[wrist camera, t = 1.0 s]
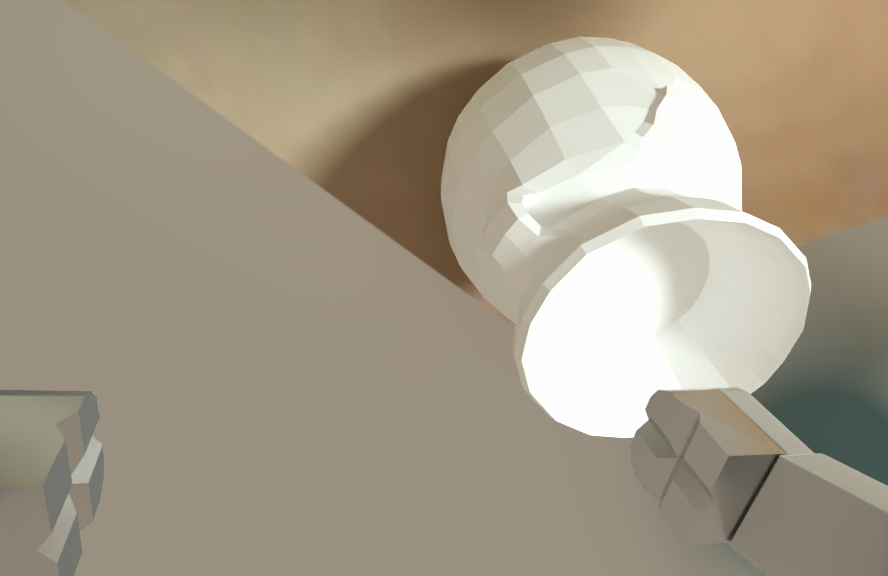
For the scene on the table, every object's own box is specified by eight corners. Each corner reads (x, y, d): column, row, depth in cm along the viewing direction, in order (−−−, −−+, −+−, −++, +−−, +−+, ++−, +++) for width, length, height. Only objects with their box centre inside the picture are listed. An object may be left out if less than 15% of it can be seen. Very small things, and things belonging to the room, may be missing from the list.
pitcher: (390, 179, 48) (391, 411, 28) (515, -47, 39) (653, 54, 19) (570, 264, 54) (678, 503, 34) (713, 88, 45) (973, 271, 25)
